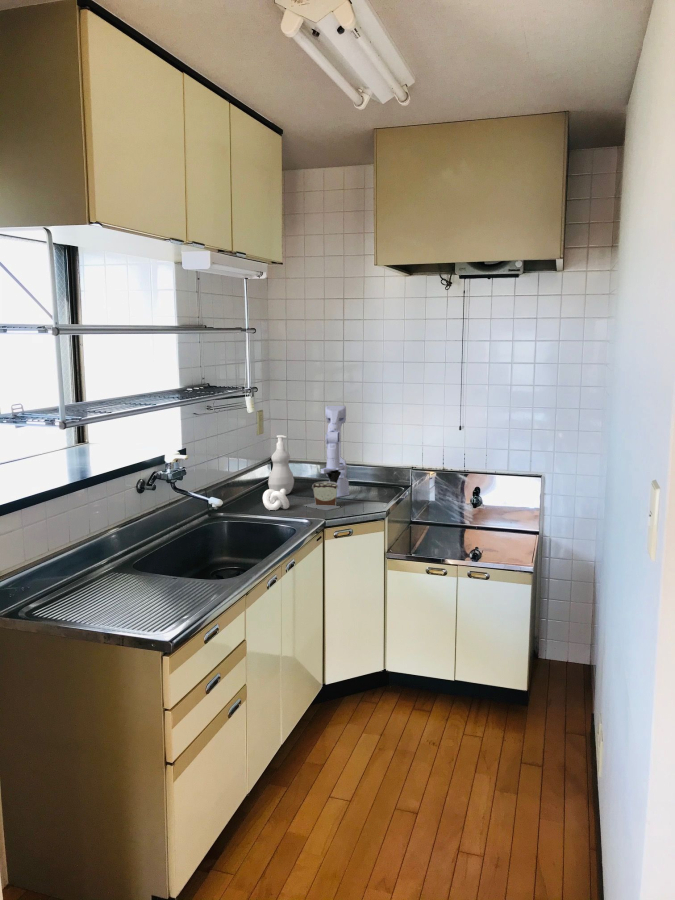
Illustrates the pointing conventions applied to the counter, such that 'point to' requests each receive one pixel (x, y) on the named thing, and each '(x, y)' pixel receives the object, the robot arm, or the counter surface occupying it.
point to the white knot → (275, 499)
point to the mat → (322, 507)
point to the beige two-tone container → (325, 493)
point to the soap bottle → (281, 469)
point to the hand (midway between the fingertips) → (333, 487)
